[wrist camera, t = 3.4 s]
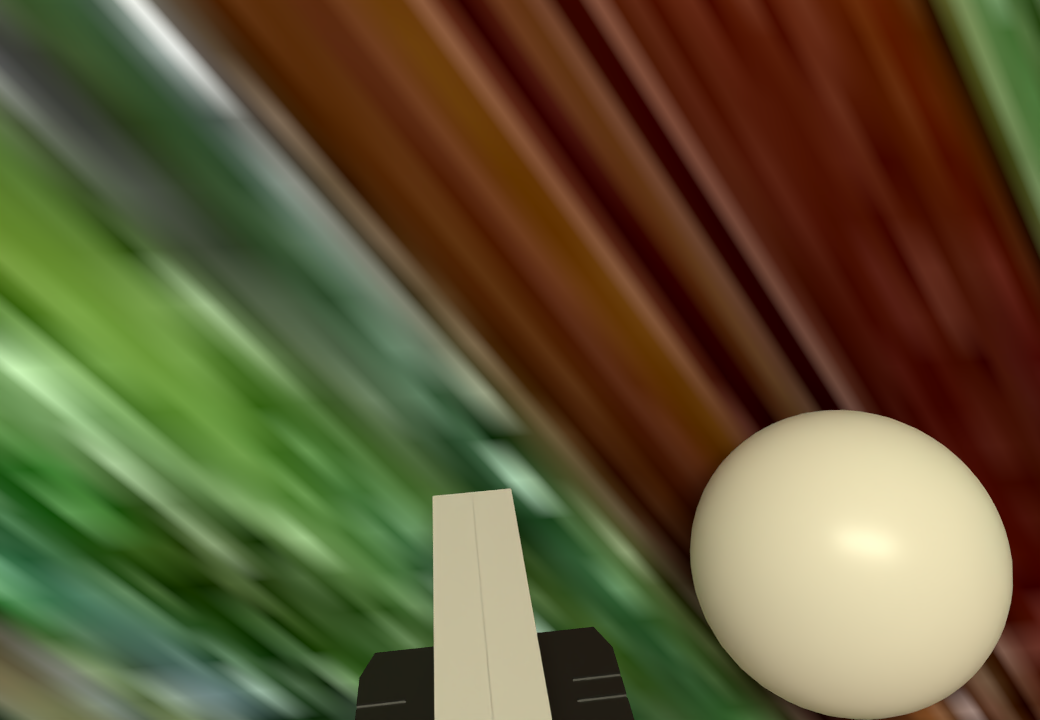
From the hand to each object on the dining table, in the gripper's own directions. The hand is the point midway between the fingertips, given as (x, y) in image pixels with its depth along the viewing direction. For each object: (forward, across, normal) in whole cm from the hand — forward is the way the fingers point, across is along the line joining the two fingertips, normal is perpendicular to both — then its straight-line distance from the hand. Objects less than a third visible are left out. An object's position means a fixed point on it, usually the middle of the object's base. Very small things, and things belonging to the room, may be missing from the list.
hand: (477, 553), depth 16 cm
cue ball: (-1, +7, 0) cm, 7 cm away
